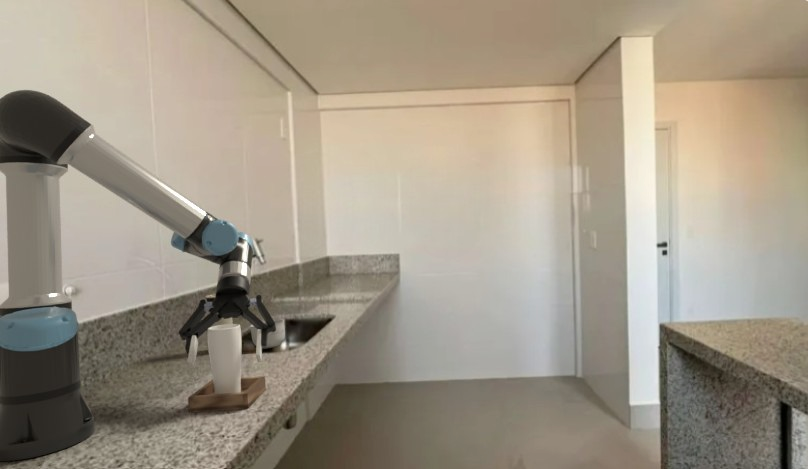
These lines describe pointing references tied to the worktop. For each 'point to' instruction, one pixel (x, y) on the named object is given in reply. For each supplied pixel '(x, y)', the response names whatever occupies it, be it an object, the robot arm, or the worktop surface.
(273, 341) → the teacup
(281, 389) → the worktop surface
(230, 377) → the white tumbler cup
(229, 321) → the travel mug
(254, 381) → the walnut tray
